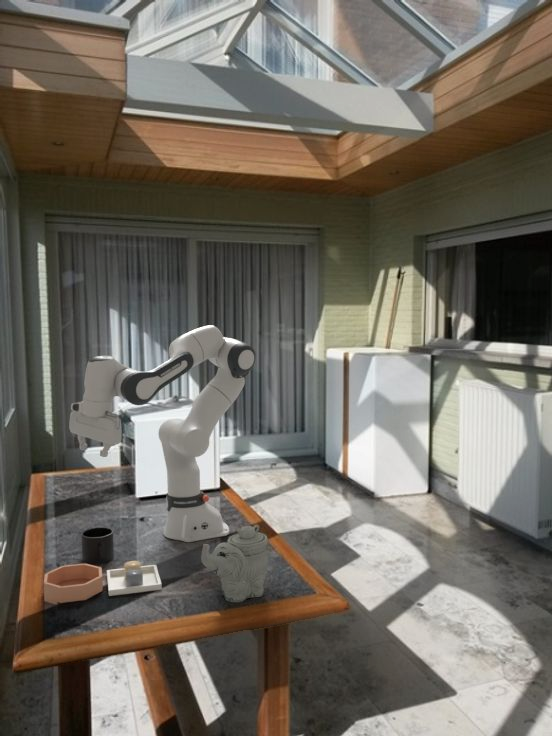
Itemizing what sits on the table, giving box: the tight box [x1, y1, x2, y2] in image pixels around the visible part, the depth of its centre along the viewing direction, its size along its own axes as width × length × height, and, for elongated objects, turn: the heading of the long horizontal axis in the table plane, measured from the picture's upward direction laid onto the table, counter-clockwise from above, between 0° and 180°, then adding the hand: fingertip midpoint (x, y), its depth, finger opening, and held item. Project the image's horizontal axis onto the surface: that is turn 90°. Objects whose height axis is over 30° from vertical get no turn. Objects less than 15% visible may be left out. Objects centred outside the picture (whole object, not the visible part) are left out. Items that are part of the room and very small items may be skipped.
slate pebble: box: [126, 569, 143, 587], centre depth 179 cm, size 5×5×4 cm
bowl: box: [43, 563, 104, 606], centre depth 177 cm, size 15×15×5 cm
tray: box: [106, 564, 163, 597], centre depth 182 cm, size 14×14×2 cm
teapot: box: [200, 524, 269, 603], centre depth 175 cm, size 16×15×19 cm
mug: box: [80, 526, 115, 565], centre depth 198 cm, size 9×12×9 cm
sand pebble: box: [123, 560, 142, 580], centre depth 185 cm, size 5×5×4 cm
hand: (93, 453), depth 199 cm, fingers open, 8 cm apart
